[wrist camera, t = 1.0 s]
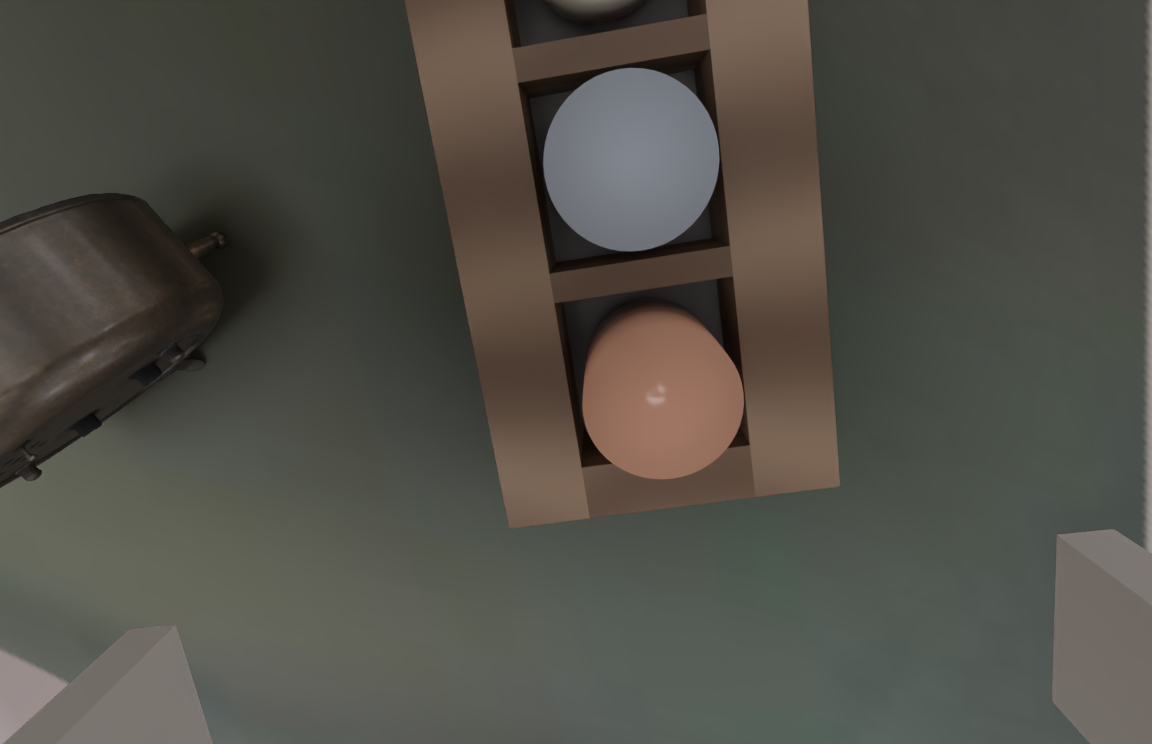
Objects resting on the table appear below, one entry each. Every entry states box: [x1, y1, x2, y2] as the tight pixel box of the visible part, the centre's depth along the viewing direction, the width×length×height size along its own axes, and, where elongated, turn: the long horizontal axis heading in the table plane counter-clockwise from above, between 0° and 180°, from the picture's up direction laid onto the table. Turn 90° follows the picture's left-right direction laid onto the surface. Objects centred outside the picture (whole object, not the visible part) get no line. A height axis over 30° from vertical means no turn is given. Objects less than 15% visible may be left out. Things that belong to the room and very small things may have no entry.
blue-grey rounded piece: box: [543, 68, 719, 251], centre depth 21 cm, size 5×5×5 cm
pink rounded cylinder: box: [582, 299, 744, 479], centre depth 23 cm, size 5×5×5 cm
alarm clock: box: [0, 193, 227, 488], centre depth 20 cm, size 11×5×16 cm, turn 127°
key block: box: [404, 0, 840, 529], centre depth 24 cm, size 24×12×4 cm, turn 9°
